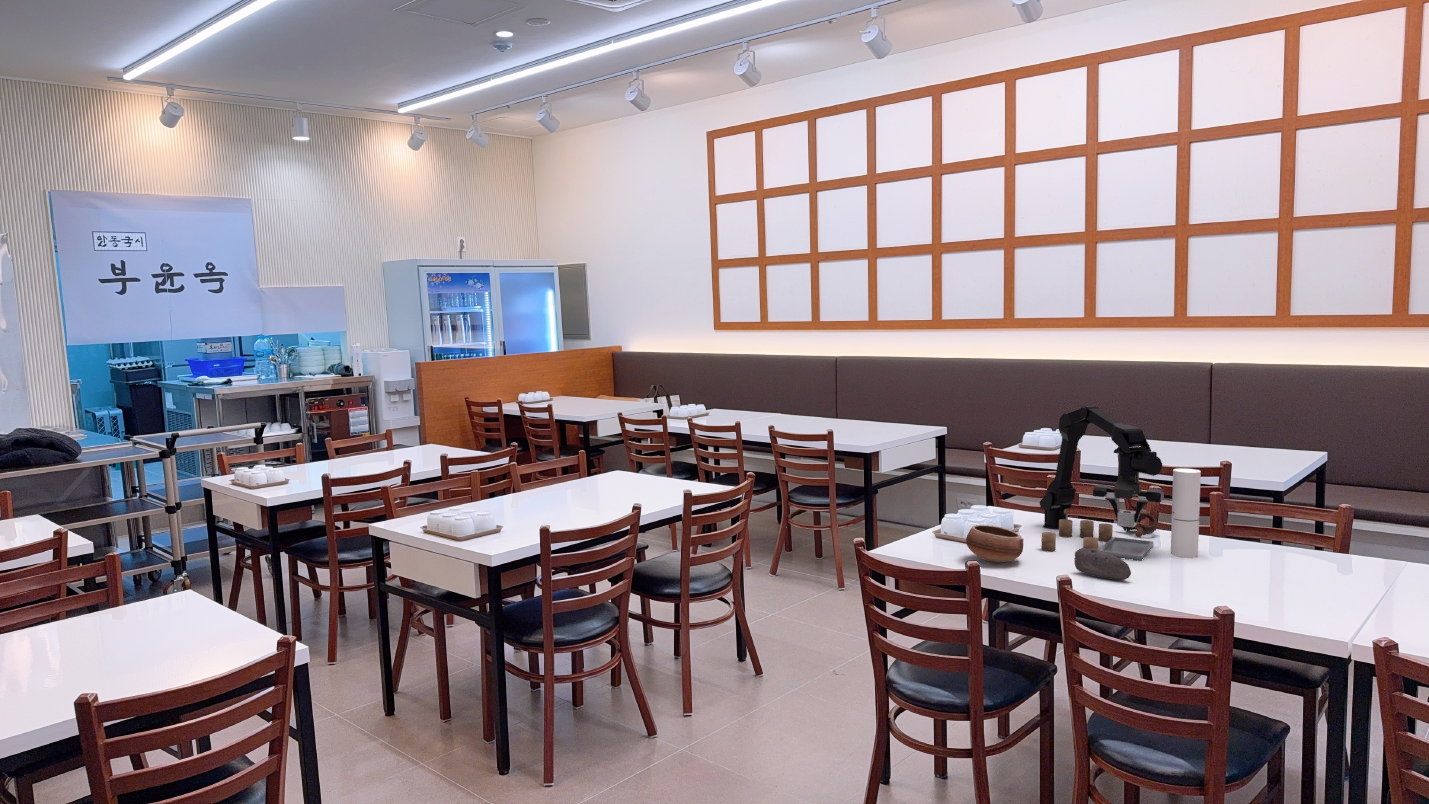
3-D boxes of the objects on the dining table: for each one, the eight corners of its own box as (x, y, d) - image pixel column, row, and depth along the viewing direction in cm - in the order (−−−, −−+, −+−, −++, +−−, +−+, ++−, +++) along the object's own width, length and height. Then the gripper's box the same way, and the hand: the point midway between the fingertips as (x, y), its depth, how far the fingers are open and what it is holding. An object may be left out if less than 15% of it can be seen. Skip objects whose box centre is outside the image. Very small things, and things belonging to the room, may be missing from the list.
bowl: (1029, 568, 260) (1030, 533, 259) (973, 569, 261) (974, 534, 260) (1013, 553, 276) (1013, 521, 275) (960, 554, 276) (960, 521, 275)
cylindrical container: (1191, 551, 275) (1194, 468, 272) (1202, 557, 268) (1204, 472, 265) (1166, 551, 276) (1169, 468, 273) (1176, 557, 268) (1178, 472, 266)
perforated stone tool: (1135, 581, 246) (1135, 555, 246) (1125, 585, 243) (1126, 559, 242) (1082, 570, 258) (1082, 545, 257) (1072, 573, 255) (1072, 548, 254)
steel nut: (1117, 525, 275) (1117, 512, 275) (1120, 522, 279) (1120, 509, 279) (1133, 527, 273) (1134, 513, 273) (1136, 524, 277) (1136, 510, 276)
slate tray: (1098, 555, 272) (1098, 550, 272) (1112, 541, 288) (1112, 536, 288) (1141, 561, 265) (1141, 556, 265) (1153, 546, 282) (1153, 541, 281)
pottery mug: (1153, 533, 300) (1160, 514, 295) (1150, 551, 293) (1157, 532, 289) (1114, 521, 304) (1121, 502, 300) (1110, 539, 298) (1117, 520, 293)
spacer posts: (1039, 550, 279) (1040, 534, 278) (1062, 532, 301) (1062, 517, 300) (1095, 557, 270) (1096, 540, 269) (1114, 538, 292) (1115, 523, 291)
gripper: (1089, 471, 273) (1087, 523, 275) (1158, 477, 263) (1156, 531, 264) (1097, 465, 282) (1096, 516, 284) (1164, 471, 272) (1163, 523, 273)
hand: (1127, 521), depth 276 cm, fingers closed on steel nut, 4 cm apart
